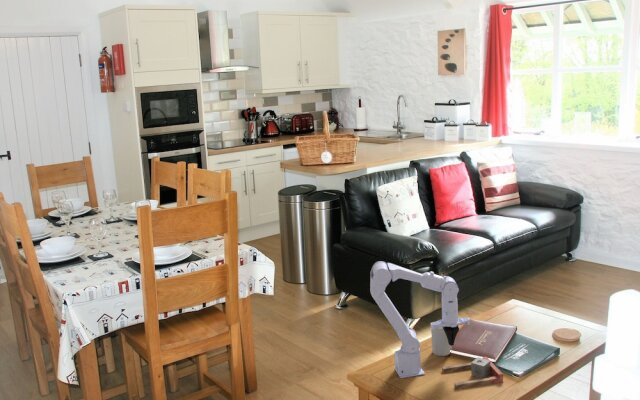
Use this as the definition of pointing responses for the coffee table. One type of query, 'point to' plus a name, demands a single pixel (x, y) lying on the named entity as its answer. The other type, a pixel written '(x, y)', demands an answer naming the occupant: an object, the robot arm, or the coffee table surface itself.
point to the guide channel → (494, 371)
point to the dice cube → (480, 367)
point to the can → (440, 342)
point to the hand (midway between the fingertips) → (451, 344)
